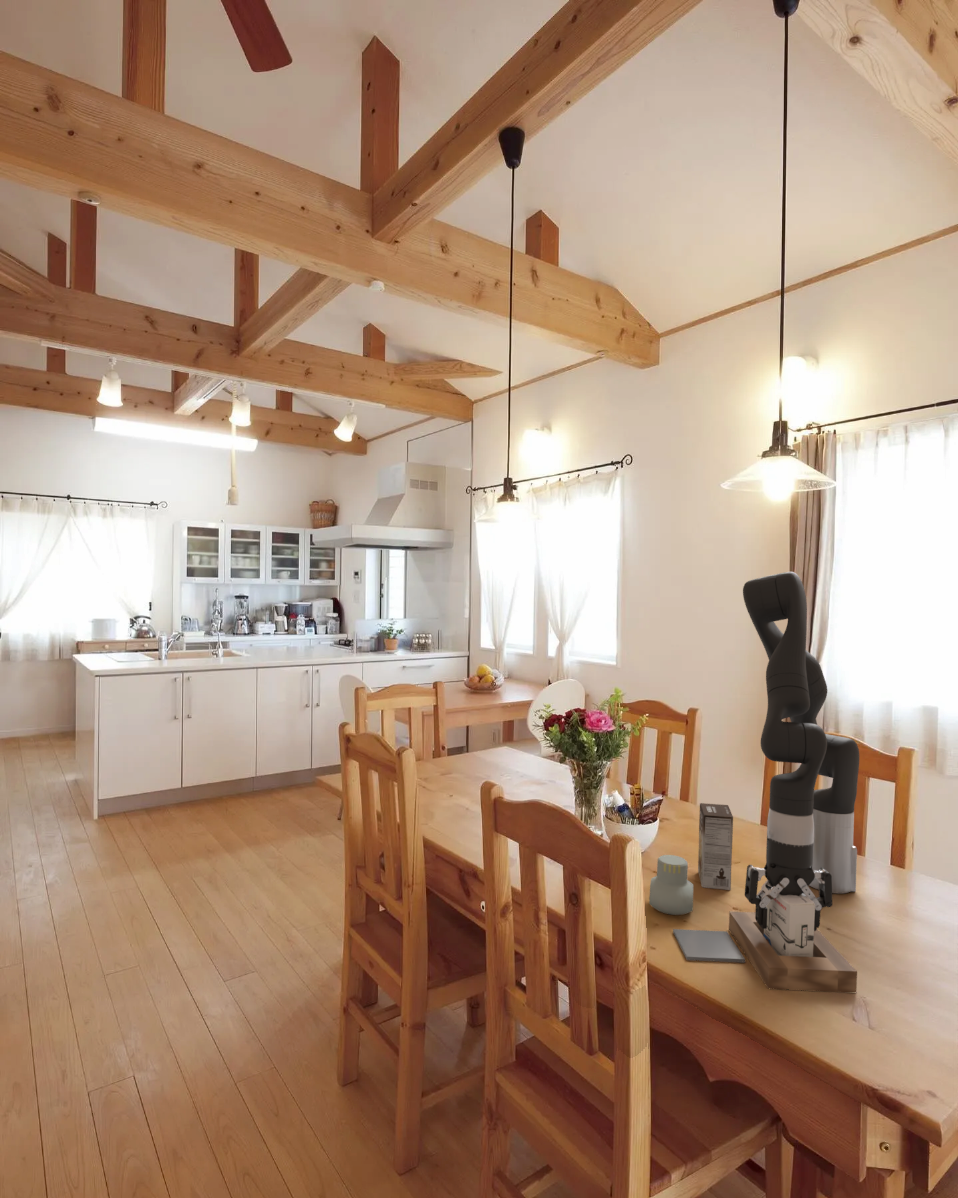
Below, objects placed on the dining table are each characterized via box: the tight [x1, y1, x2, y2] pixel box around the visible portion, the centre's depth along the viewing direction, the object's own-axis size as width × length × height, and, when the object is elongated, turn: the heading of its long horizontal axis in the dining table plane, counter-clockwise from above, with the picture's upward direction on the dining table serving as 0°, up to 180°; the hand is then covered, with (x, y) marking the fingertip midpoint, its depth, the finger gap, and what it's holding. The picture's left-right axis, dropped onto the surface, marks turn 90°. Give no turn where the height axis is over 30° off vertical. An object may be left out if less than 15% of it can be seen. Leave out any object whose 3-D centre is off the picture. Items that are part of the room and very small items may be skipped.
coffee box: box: [697, 802, 734, 891], centre depth 156 cm, size 9×6×16 cm
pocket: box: [728, 910, 858, 993], centre depth 123 cm, size 14×20×4 cm
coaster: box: [672, 928, 746, 964], centre depth 127 cm, size 10×10×1 cm
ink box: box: [764, 887, 815, 957], centre depth 123 cm, size 9×5×12 cm, turn 5°
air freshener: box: [648, 854, 694, 916], centre depth 142 cm, size 11×8×10 cm
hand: (786, 928), depth 123 cm, fingers open, 8 cm apart
